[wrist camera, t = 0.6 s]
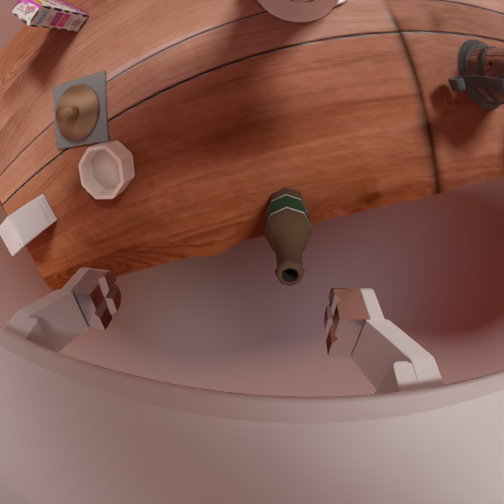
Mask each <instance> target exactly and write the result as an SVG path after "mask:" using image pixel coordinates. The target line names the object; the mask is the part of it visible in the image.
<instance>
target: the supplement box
mask: <svg viewBox="0 0 504 504" xmlns="http://www.w3.org/2000/svg"><path fill="white" fill-rule="evenodd" d="M56 220H57V218H56V216H55V215H54V213H53V211H52V209H51V207H50V205H49V204H48V202H47V200H46V198H45V196H44V194H42V195H40V196H38V197H37V198H35V199H34V200H32V201H30V202H29V203H27V204H26V205H24V206H23V207H21V208H20V209H18V210H17V211H15V212H14V213H12V214H11V215H9V216H8V217H7V218H6V219H5V220H4V222H3V223H2V224H1V226H0V236H1V237H2V239H3V241H4V243H5V244H6V246H7V248H8V250H9V251H10V253H11V255H12V256H14V255H15V254H16V253H17V252H18V251H19V250H21V249H22V248H23V247H24V246H26V245H27V244H28V243H29V242H30V241H32V240H33V239H34V238H35V237H36V236H38V235H39V234H40V233H41V232H43V231H44V230H45V229H46V228H47V227H49V226H50V225H51V224H52V223H54V222H55V221H56Z"/></svg>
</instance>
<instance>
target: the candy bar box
mask: <svg viewBox="0 0 504 504" xmlns="http://www.w3.org/2000/svg"><path fill="white" fill-rule="evenodd" d="M12 13H13V14H14V15H16V16H17V17H18V18H19V19H20V20H22V21H23V22H24V23H25V24H27V25H28V26H35V27H45V28H55V29H62V30H68V31H75V32H78V31H79V30H80V28H81V27H82V25H83V24H84V23H85V21H86V20H87V19H88V17H89V15H87V14H85V13H84V12H82V11H80V10H79V9H77V8H76V7H74V6H72V5H71V4H69V3H67V2H63V1H58V0H19V1H18V3H17V4H16V6H15V8H14V9H13V11H12Z"/></svg>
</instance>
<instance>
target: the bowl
mask: <svg viewBox="0 0 504 504" xmlns="http://www.w3.org/2000/svg"><path fill="white" fill-rule="evenodd" d="M78 166H79V173H80V179H81V185H82V186H83V187H84V188H85V189H86V190H87V191H88V192H89V193H90V194H91V195H92V196H93V197H94V198H95V199H113V198H115V197H116V196H117V195H119V194H120V193H121V192H123V191H124V190H125V189H126V187H127V186H128V185H129V183H130V182H131V181H132V179H133V178H134V177H135V171H134V161H133V155H132V153H131V152H130V151H129V150H128V149H127V148H126V147H125V146H124V145H122V144H121V143H120V142H119V141H109V142H102V143H99V144H96V145H94V146H91V147H88V148H87V150H86V152H85V153H84V155H83V157H82V159H81V160H80V162H79V165H78Z"/></svg>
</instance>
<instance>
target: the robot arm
mask: <svg viewBox="0 0 504 504" xmlns="http://www.w3.org/2000/svg"><path fill="white" fill-rule="evenodd" d="M257 1H258V2H259V3H260V4H261V5H262V7H263V8H264V9H265V10H266V11H268V12H269V13H270V14H272V15H274V16H276V17H278V18H280V19H283V20H286V21H291V22H310V21H314V20H317V19H320V18H322V17H323V16H325V15H326V14H328V13H329V12H330V11H331V9H332V8H334V7H335V6H338V5H341V4H343V3H345V2H346V1H347V0H257ZM115 282H116V277H115V274H114V272H112V271H109V270H102V269H95V268H87V267H82V268H80V269H79V270H78V271H77V272H76V273H75V274H74V276H73V277H72V278H71V279H70V280H69V281H68V282H67V283H66V285H65V286H64V287H63V288H62V289H61V290H59V289H58V290H56V291H54V292H52V293H51V294H49V295H47V296H45V297H43V298H41V299H39V300H37V301H35V302H33V303H31V304H30V305H28V306H26V307H24V308H22V309H20V310H18V311H17V312H16V314H15V315H14V316H13V317H12V318H11V320H10V321H9V322H8V324H7V325H6V326H5V328H4V329H3V328H0V504H504V370H501V371H498V372H495V373H491V374H488V375H484V376H480V377H476V378H472V379H468V380H464V381H460V382H455V383H451V384H445V385H444V384H443V381H442V378H441V375H440V373H439V370H438V367H437V365H436V362H435V359H434V357H433V356H432V355H430V354H429V353H428V352H427V351H426V350H424V349H423V348H422V347H421V346H420V345H418V344H417V343H416V342H415V341H414V340H412V339H411V338H410V337H409V336H408V335H406V334H405V333H404V332H403V331H402V330H400V329H399V328H398V327H397V326H395V325H394V324H393V323H392V322H390V321H389V320H385V319H384V317H383V314H382V311H381V309H380V306H379V303H378V301H377V298H376V295H375V293H374V291H373V289H372V288H359V289H350V288H349V289H348V288H331V290H330V293H329V302H330V304H328V305H327V306H326V310H325V316H324V329H325V332H326V333H327V334H328V336H327V339H326V344H327V353H328V356H351V358H352V360H353V361H354V362H355V363H356V364H357V366H358V367H359V368H360V369H361V371H362V372H363V373H364V374H365V376H366V377H367V378H368V379H369V381H370V382H371V383H372V384H373V385H374V387H375V388H376V389H377V391H376V392H375V394H371V395H357V396H335V397H334V396H333V397H296V396H271V395H255V394H243V393H233V392H224V391H216V390H208V389H201V388H195V387H188V386H183V385H177V384H172V383H167V382H161V381H157V380H152V379H148V378H143V377H139V376H135V375H131V374H127V373H123V372H119V371H115V370H112V369H108V368H104V367H101V366H98V365H94V364H91V363H88V362H85V361H82V360H78V359H76V358H73V357H70V356H67V355H64V354H61V353H59V351H60V350H61V349H63V348H64V347H65V346H66V345H68V344H69V343H70V342H72V341H73V340H74V339H76V338H77V337H78V336H79V335H80V334H82V333H83V332H85V331H86V330H87V329H89V327H90V328H95V329H100V330H106V329H107V327H108V325H109V324H110V322H111V320H112V314H113V313H115V312H117V310H118V309H119V306H120V303H121V292H120V289H119V288H118V287H117V286H116V284H115Z"/></svg>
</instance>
